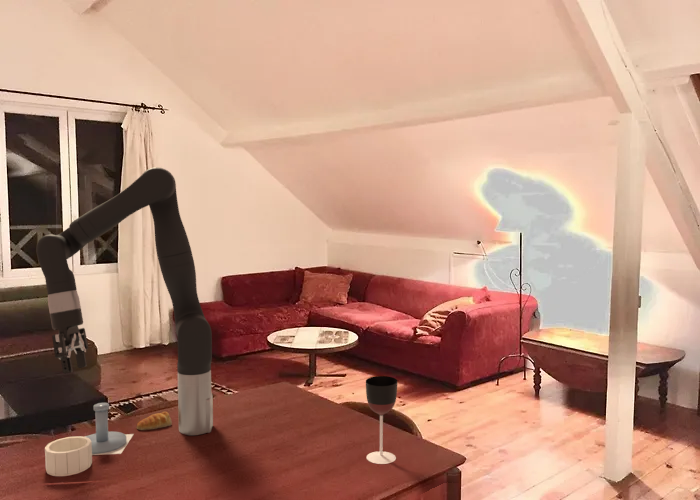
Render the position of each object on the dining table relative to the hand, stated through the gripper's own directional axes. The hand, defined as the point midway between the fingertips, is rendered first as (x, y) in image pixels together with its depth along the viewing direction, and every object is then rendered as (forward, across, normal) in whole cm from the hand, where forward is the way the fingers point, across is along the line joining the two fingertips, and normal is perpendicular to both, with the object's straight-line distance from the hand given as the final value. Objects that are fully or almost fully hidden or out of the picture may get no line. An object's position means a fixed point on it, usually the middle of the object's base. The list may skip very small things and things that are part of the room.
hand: (75, 370), depth 156 cm
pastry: (+22, +16, -13) cm, 30 cm away
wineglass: (+35, -6, -75) cm, 84 cm away
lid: (+21, +2, -3) cm, 21 cm away
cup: (+22, -11, 0) cm, 25 cm away
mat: (+22, +2, -3) cm, 22 cm away
